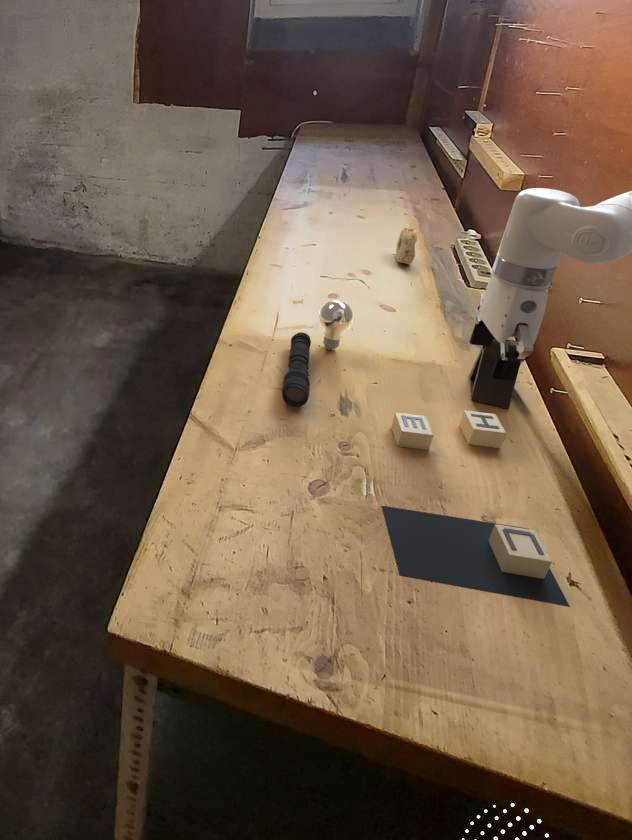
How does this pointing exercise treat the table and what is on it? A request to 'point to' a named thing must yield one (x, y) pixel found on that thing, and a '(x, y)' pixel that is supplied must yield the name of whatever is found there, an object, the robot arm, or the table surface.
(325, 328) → the light bulb
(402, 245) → the stone disc
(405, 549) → the mat
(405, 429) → the letter e tile
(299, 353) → the flashlight
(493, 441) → the letter h block
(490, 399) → the phone stand
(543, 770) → the table surface
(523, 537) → the tile
